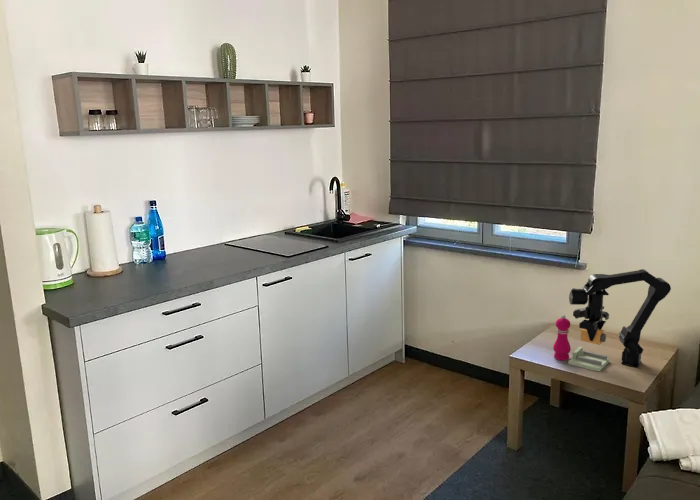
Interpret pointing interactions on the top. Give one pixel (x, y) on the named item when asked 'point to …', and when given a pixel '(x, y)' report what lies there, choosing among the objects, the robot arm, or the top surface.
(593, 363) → the pale green tray
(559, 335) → the pepper mill
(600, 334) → the orange tapered block
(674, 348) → the top surface
